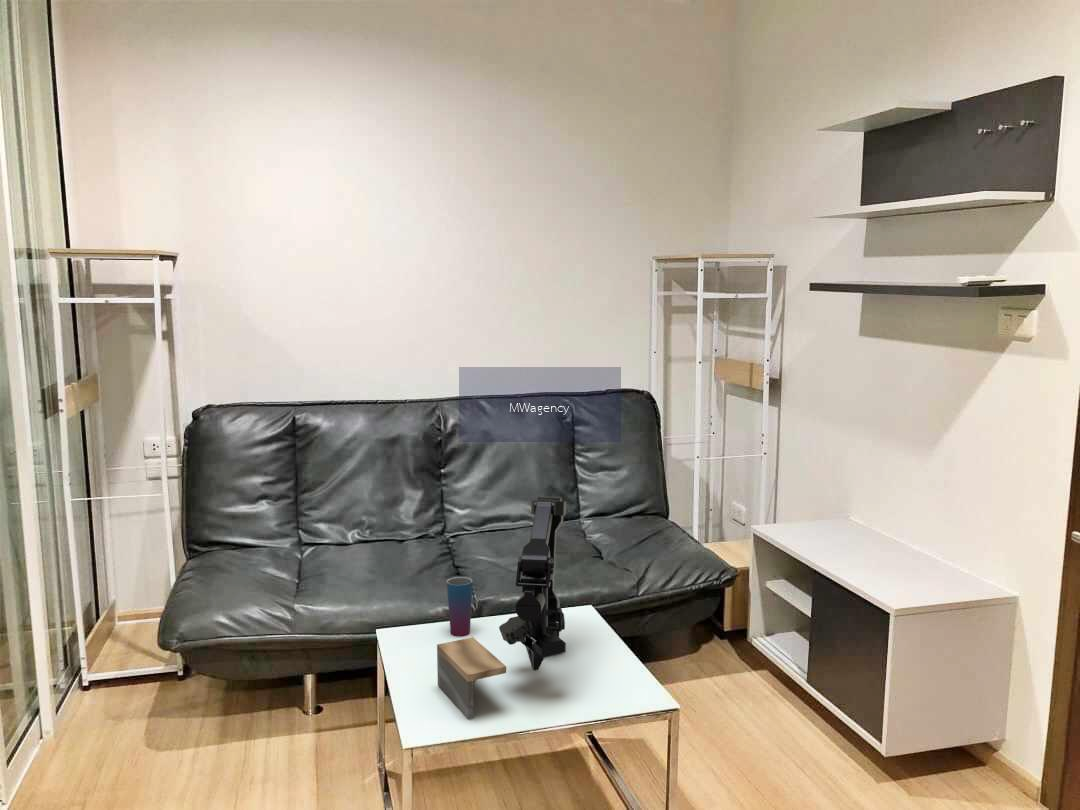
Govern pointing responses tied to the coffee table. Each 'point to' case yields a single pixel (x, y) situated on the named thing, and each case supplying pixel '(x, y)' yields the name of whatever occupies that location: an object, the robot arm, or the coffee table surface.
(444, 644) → the block
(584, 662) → the coffee table surface
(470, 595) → the cup
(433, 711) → the coffee table surface
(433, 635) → the coffee table surface
